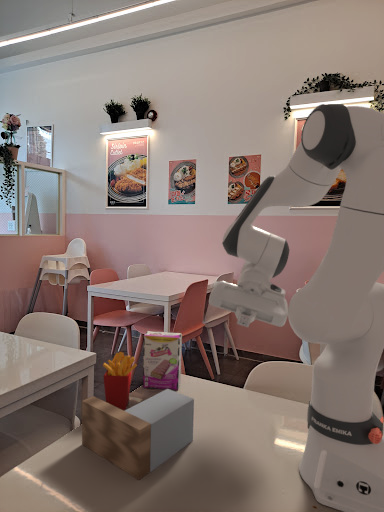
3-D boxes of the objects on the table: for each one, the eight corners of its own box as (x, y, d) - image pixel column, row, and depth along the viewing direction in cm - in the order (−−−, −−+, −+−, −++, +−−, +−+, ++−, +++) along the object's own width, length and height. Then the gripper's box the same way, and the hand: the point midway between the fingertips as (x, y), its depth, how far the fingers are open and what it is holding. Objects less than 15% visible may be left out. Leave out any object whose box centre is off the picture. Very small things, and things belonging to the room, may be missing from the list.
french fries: (102, 412, 94) (102, 356, 93) (109, 398, 102) (110, 346, 101) (135, 413, 94) (136, 357, 93) (140, 398, 102) (141, 347, 101)
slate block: (192, 440, 83) (194, 398, 82) (150, 472, 72) (151, 424, 71) (166, 428, 88) (167, 388, 87) (122, 456, 77) (123, 411, 76)
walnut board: (150, 471, 72) (150, 423, 71) (139, 480, 70) (139, 430, 69) (93, 438, 83) (93, 396, 82) (82, 444, 80) (82, 400, 80)
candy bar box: (142, 388, 109) (142, 335, 108) (145, 381, 114) (146, 330, 113) (178, 391, 108) (180, 337, 107) (181, 383, 113) (182, 332, 112)
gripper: (217, 270, 99) (204, 301, 88) (291, 292, 96) (287, 327, 84) (213, 288, 102) (200, 319, 91) (284, 309, 99) (280, 345, 88)
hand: (243, 323), depth 88 cm, fingers closed
